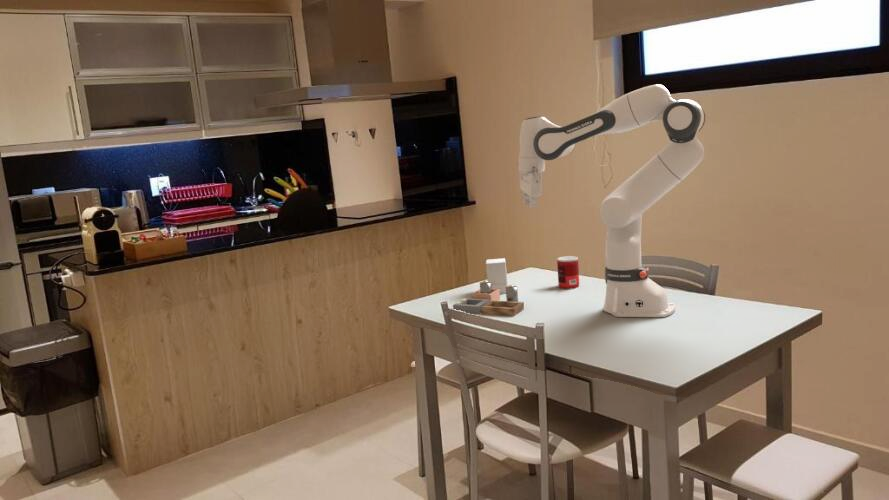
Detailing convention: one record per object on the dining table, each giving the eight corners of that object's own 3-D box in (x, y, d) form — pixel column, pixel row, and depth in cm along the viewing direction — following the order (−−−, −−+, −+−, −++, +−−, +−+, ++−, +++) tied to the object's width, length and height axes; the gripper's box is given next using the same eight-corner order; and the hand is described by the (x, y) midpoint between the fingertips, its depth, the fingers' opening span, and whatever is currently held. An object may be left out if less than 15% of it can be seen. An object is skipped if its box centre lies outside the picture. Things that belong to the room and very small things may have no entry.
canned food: (582, 284, 260) (581, 256, 258) (574, 289, 253) (573, 260, 251) (563, 283, 264) (562, 255, 262) (555, 288, 258) (553, 260, 255)
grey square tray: (490, 307, 239) (490, 298, 239) (479, 315, 232) (478, 306, 231) (465, 306, 244) (464, 297, 244) (453, 313, 237) (452, 304, 236)
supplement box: (508, 290, 262) (505, 257, 259) (508, 295, 254) (505, 261, 252) (488, 291, 262) (486, 259, 260) (488, 296, 255) (485, 263, 253)
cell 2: (520, 305, 239) (518, 284, 238) (515, 308, 236) (514, 287, 234) (509, 304, 241) (508, 283, 240) (505, 307, 238) (503, 286, 236)
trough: (524, 310, 232) (523, 302, 231) (514, 317, 225) (514, 308, 225) (492, 308, 238) (491, 300, 237) (482, 315, 231) (481, 306, 231)
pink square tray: (500, 301, 247) (499, 289, 246) (491, 306, 241) (490, 294, 240) (482, 300, 250) (481, 288, 249) (473, 305, 244) (472, 293, 243)
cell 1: (494, 300, 246) (492, 280, 245) (489, 303, 243) (487, 282, 241) (484, 299, 248) (482, 279, 247) (479, 302, 245) (477, 282, 243)
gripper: (547, 168, 219) (545, 211, 222) (534, 163, 239) (532, 202, 242) (528, 168, 218) (526, 211, 221) (516, 162, 238) (515, 202, 241)
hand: (529, 206), depth 232 cm, fingers open, 8 cm apart
